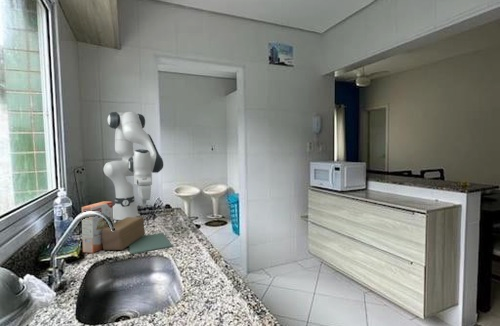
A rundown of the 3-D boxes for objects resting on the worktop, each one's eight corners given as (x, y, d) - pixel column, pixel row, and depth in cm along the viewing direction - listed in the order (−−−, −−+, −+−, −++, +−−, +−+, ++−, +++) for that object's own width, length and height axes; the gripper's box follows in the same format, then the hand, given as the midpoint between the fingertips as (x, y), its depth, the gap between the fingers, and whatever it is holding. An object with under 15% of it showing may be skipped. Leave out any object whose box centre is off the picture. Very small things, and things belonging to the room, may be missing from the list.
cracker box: (94, 253, 118) (92, 207, 116) (82, 252, 118) (80, 206, 117) (115, 242, 131) (113, 201, 130) (104, 242, 132) (102, 200, 131)
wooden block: (145, 234, 139) (122, 250, 119) (128, 235, 140) (102, 250, 121) (143, 216, 138) (120, 229, 119) (126, 216, 140) (99, 229, 120)
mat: (126, 239, 135) (126, 238, 135) (163, 233, 144) (162, 232, 144) (130, 254, 116) (130, 253, 116) (172, 246, 125) (172, 245, 125)
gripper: (134, 178, 147) (135, 203, 148) (139, 182, 129) (139, 210, 130) (146, 178, 150) (147, 202, 151) (152, 181, 133) (153, 208, 133)
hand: (143, 206), depth 140 cm, fingers closed
